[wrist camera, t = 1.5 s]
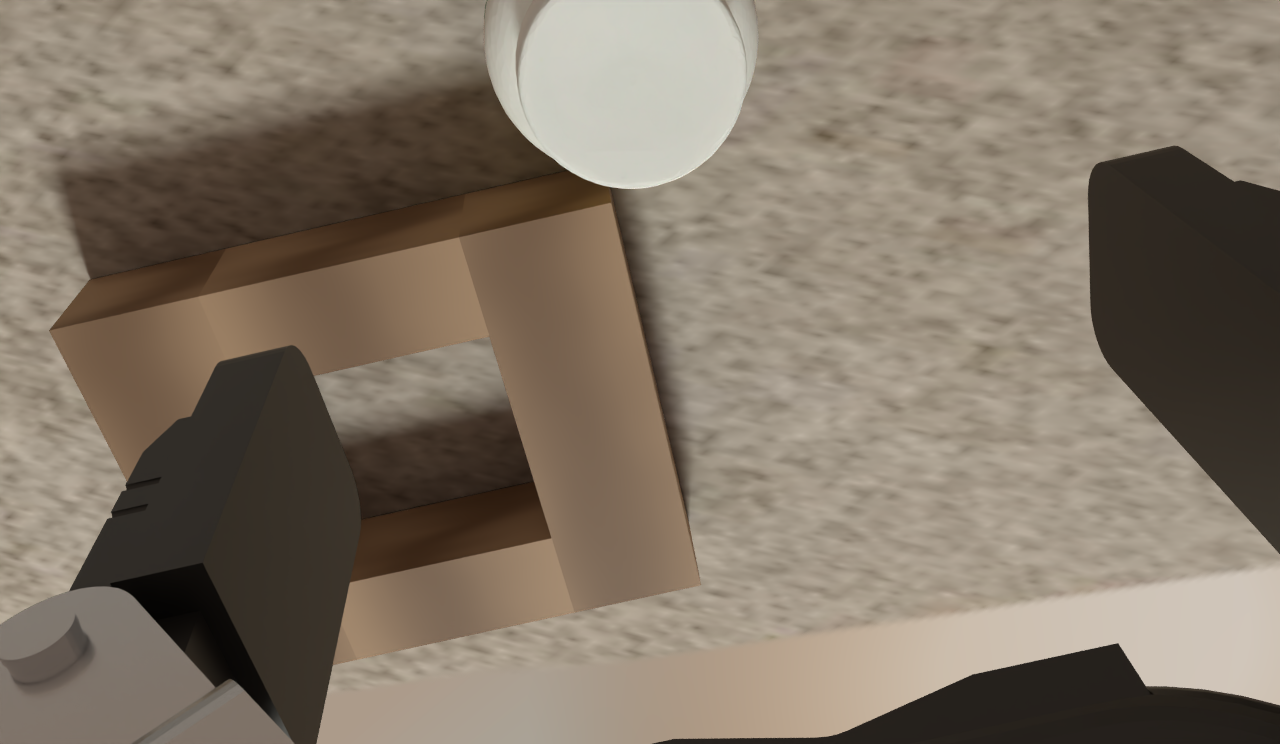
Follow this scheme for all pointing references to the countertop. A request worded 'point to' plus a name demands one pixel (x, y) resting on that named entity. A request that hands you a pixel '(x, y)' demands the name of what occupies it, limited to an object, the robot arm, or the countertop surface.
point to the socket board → (419, 321)
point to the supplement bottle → (622, 81)
